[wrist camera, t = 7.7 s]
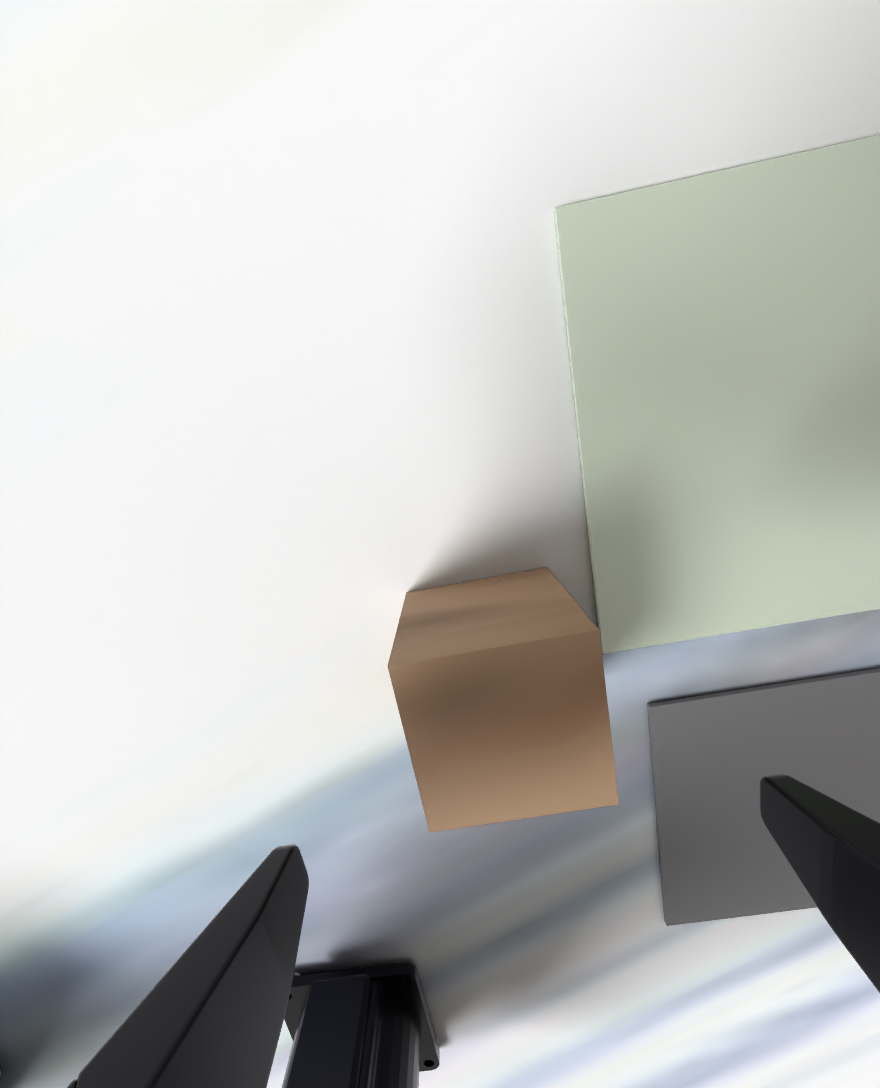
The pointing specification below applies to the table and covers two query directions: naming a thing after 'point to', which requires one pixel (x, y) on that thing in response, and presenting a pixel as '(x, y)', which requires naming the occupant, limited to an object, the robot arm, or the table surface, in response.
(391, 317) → the table surface
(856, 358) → the mat
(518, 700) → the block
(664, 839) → the mat
